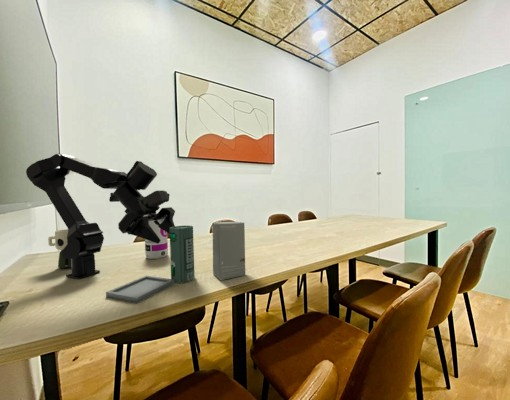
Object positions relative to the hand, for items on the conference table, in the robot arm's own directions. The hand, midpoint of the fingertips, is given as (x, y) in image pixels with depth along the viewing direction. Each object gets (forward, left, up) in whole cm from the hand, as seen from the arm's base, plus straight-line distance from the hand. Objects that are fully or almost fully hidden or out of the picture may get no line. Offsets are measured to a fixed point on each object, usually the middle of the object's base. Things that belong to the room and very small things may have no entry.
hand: (169, 239), depth 66 cm
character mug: (-44, -1, -12) cm, 45 cm away
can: (+3, +1, -12) cm, 12 cm away
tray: (-2, -8, -12) cm, 14 cm away
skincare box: (+14, +9, -12) cm, 21 cm away
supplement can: (-24, +19, -12) cm, 32 cm away
